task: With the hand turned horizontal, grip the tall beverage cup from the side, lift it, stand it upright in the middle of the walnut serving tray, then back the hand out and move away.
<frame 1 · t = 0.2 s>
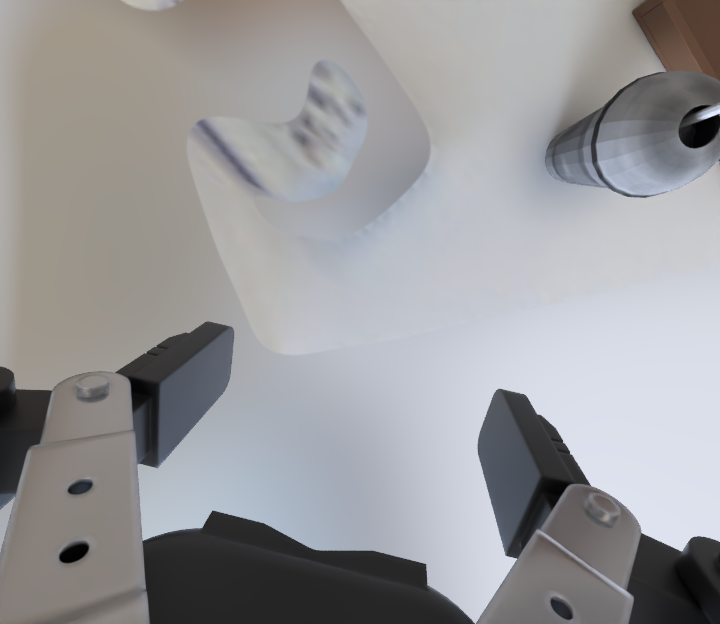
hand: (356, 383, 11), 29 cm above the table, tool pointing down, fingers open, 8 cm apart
beverage cup: (569, 155, 35), on the table
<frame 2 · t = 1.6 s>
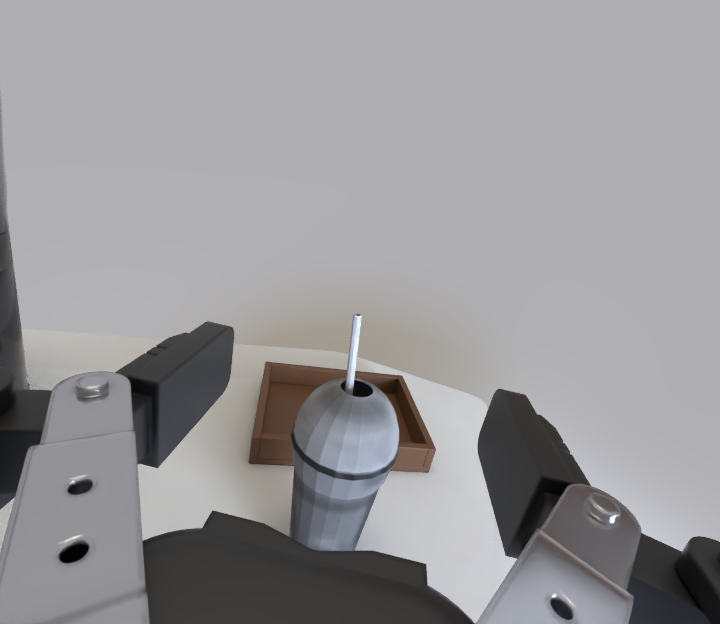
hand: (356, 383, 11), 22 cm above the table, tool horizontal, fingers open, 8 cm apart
beverage cup: (317, 559, 29), on the table
tray: (337, 422, 45), on the table
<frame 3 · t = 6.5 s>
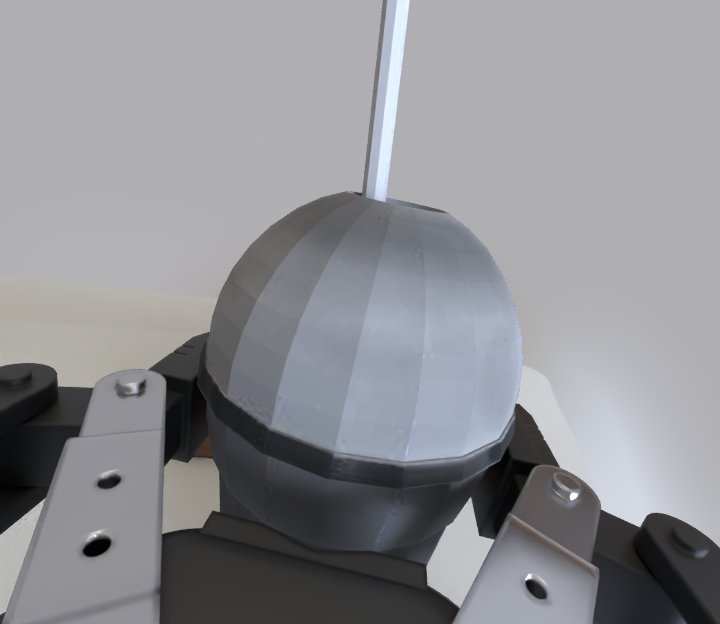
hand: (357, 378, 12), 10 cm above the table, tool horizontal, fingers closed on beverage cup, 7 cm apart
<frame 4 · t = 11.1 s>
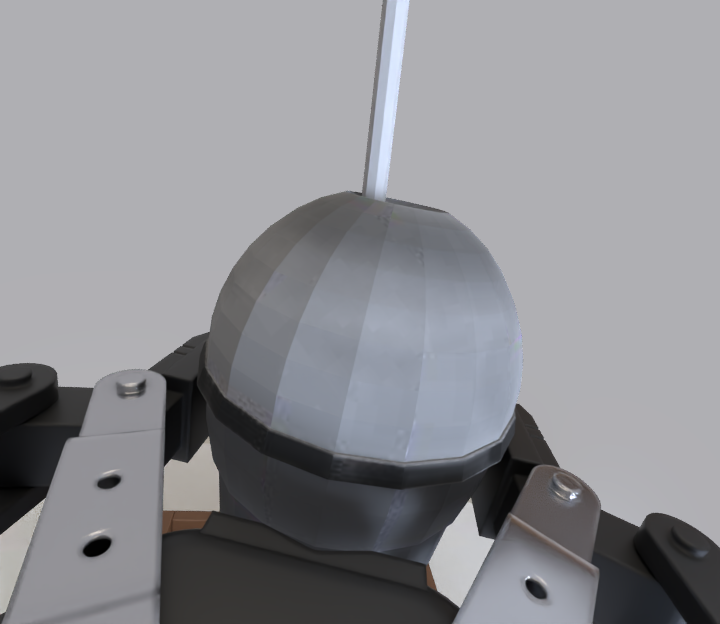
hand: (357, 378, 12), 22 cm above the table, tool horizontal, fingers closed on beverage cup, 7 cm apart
when the fingers open (11 cm above the table, at t = 15.7 s): beverage cup moves 2 cm, resting on tray.
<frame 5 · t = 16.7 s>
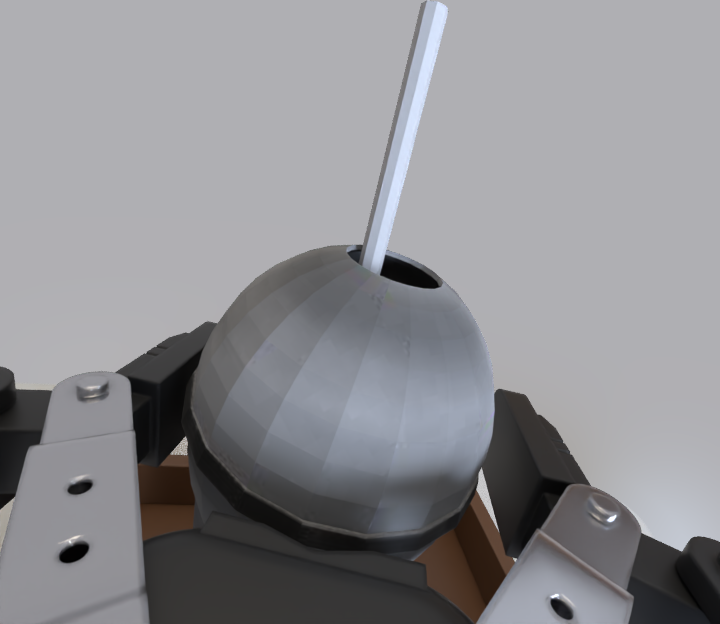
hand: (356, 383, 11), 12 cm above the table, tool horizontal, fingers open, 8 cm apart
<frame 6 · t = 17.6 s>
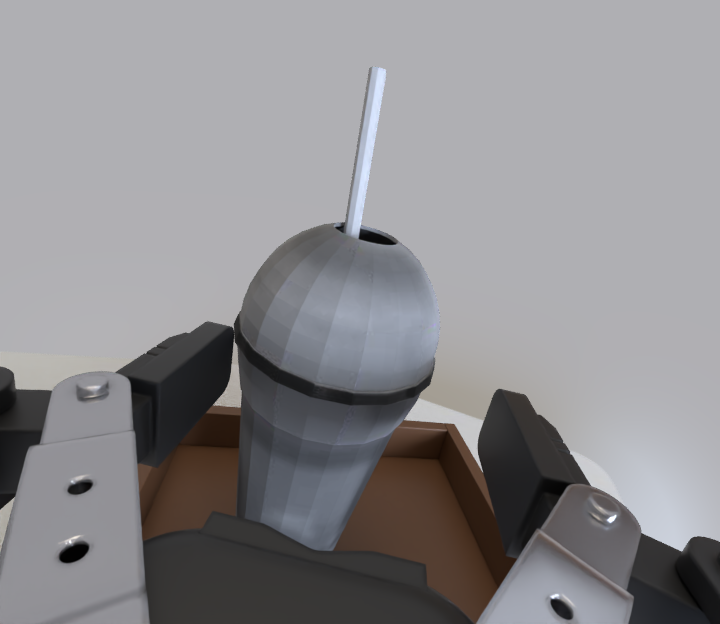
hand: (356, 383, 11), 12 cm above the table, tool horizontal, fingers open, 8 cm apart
beverage cup: (283, 542, 19), point 1 cm above the table, touching tray
tray: (320, 553, 19), on the table
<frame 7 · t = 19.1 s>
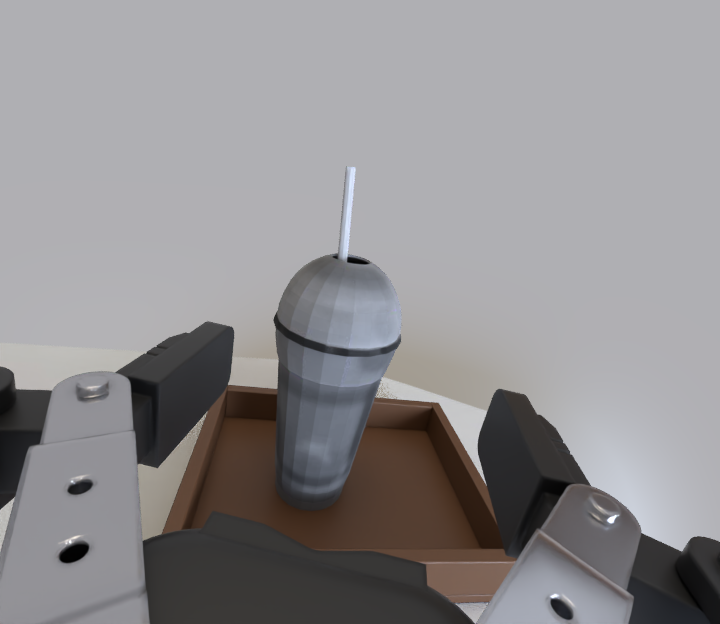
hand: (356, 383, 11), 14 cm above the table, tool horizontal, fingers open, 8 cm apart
beverage cup: (308, 485, 26), resting on tray
tray: (336, 491, 26), on the table
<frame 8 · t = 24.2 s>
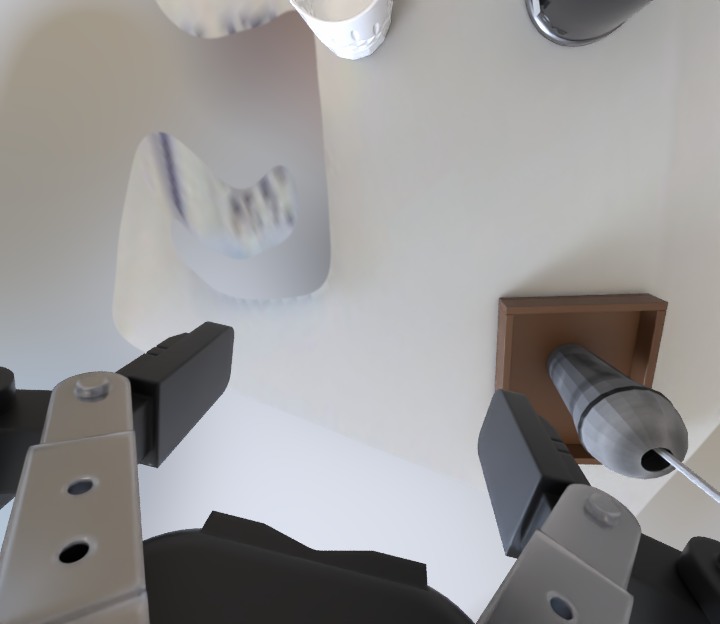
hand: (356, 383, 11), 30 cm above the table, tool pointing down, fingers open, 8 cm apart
beverage cup: (567, 361, 41), resting on tray
white cup: (354, 17, 34), on the table
tray: (563, 376, 42), on the table
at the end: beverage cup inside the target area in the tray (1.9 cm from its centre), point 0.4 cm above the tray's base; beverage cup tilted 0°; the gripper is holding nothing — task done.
